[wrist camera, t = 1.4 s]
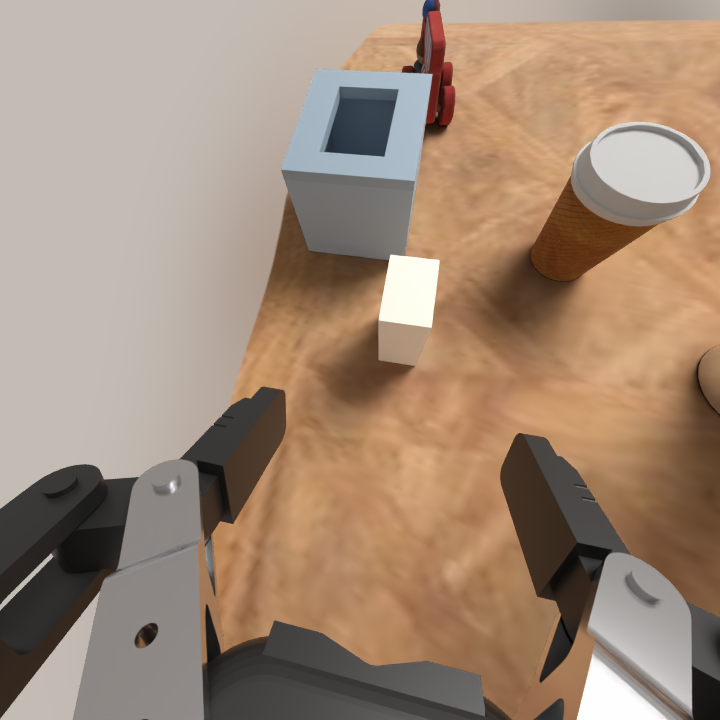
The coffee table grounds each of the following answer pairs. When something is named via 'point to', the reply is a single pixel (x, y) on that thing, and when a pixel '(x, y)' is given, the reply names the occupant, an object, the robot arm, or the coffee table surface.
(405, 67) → the toy fire truck
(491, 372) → the coffee table surface
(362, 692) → the robot arm
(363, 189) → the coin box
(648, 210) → the disposable coffee cup
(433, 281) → the block
